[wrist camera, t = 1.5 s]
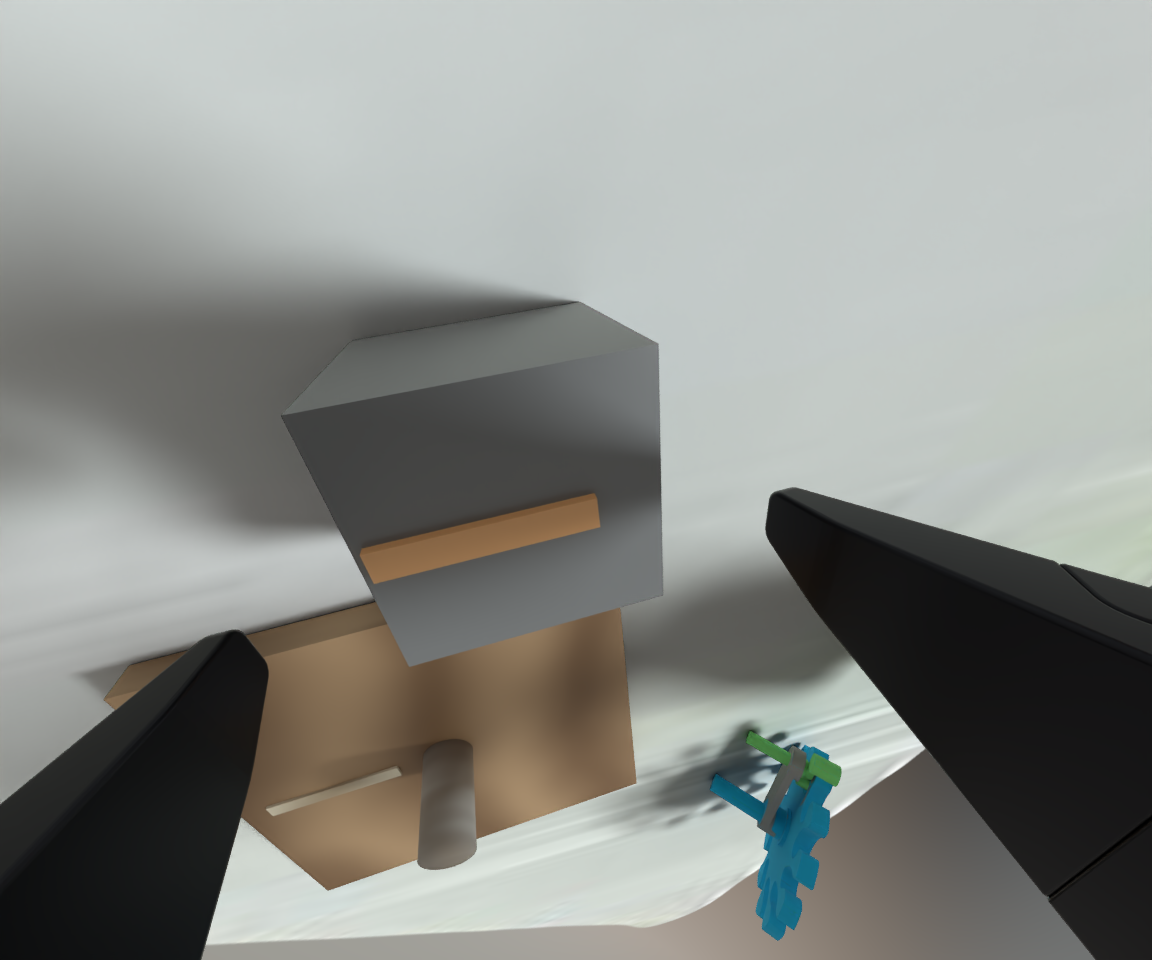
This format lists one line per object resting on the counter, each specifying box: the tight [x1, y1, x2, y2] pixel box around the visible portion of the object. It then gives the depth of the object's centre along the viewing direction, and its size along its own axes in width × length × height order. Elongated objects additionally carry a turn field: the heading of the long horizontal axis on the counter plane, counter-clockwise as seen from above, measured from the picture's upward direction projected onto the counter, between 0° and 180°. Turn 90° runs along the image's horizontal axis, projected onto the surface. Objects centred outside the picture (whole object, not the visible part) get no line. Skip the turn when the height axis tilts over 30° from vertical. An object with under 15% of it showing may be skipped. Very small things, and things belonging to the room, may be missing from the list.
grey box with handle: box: [281, 302, 663, 667], centre depth 11 cm, size 6×6×6 cm
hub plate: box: [104, 602, 636, 890], centre depth 17 cm, size 16×16×5 cm
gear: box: [710, 731, 841, 941], centre depth 27 cm, size 11×6×10 cm
